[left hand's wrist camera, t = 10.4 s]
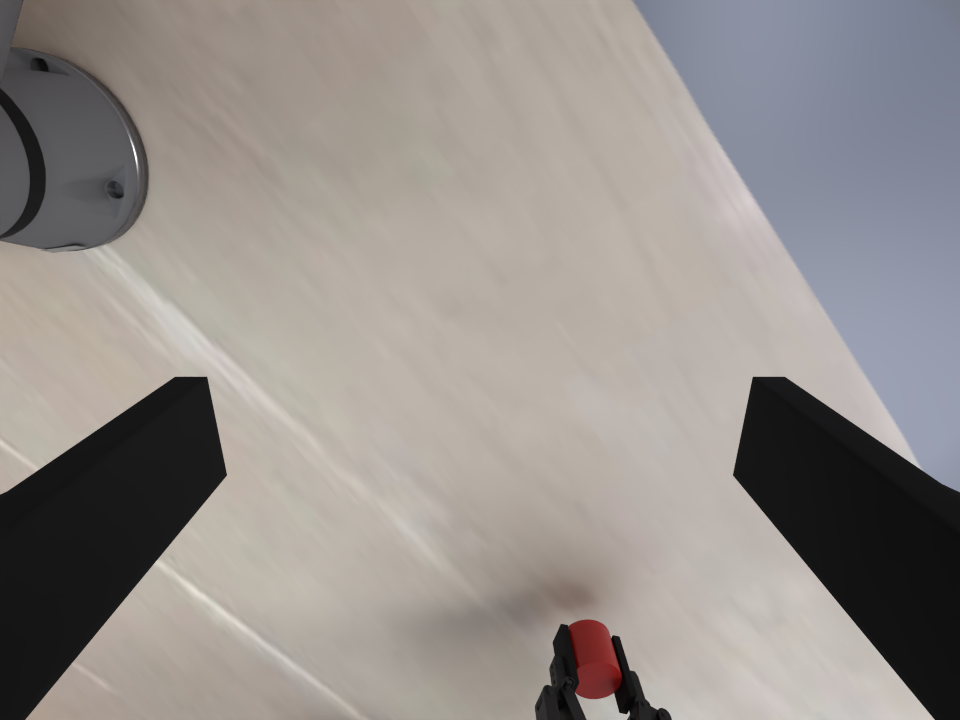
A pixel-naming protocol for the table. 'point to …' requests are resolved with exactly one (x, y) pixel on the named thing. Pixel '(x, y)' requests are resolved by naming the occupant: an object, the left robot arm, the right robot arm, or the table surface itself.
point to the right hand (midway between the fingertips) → (586, 639)
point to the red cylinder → (594, 659)
